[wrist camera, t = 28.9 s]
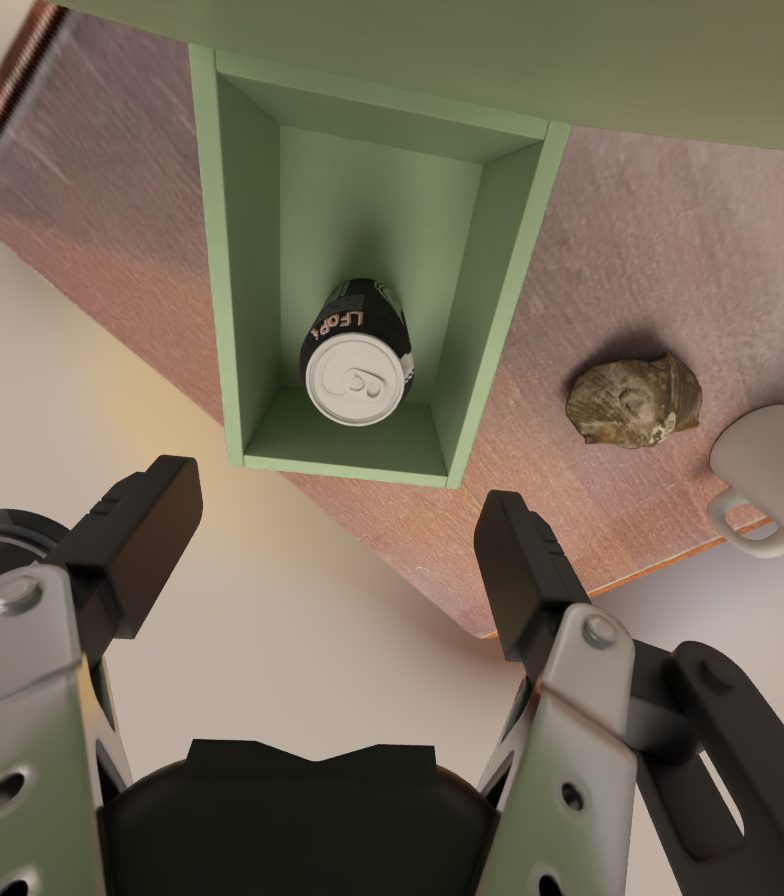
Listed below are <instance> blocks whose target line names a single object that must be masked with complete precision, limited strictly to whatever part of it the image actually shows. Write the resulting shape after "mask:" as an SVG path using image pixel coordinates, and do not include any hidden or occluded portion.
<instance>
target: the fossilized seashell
mask: <svg viewBox="0 0 784 896" xmlns="http://www.w3.org/2000/svg"><path fill="white" fill-rule="evenodd" d="M701 404H702V389H701V386H700V385H699V383H698V380H697V378H696V376H695V374H694V373H693V372H692V371H691V370H690V369H689V368H688V367H687V366H686V365H685V364H684V363H683V362H682V361H681V360H680V359H679V358H677V357H676V356H674V355H673V354H672V353H669V352H668V351H665V352H663V353H661V354H660V355H659V356H657V357H656V358H654V359H653V360H652V361H644V360H639V359H624V360H618V361H613V362H609V363H606V364H601V365H597V366H593V367H591V368H590V369H589V370H587V371H586V372H584V373H583V374H582V375H581V376H580V377H578V379H577V380H576V381H575V382H574V383H573V387H572V390H571V391H570V393H569V395H568V397H567V400H566V409H565V410H566V415H567V417H568V418H569V419H570V421H571V422H572V423H573V425H574V426H575V428H576V429H577V430H578V432H579V433H580V434H581V435H582V436H583V437H584V438H585V444H612V445H616V446H618V447H622V448H628V449H637V448H640V447H653V446H655V445H657V444H658V443H660V442H662V441H664V440H665V439H666V438H667V436H668V435H669V434H671V433H675V432H680V431H684V430H689V429H693V428H697V427H698V426H699V421H698V417H699V410H700V407H701Z"/></svg>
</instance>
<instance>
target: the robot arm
mask: <svg viewBox="0 0 784 896" xmlns="http://www.w3.org/2000/svg"><path fill="white" fill-rule="evenodd" d="M202 511H203V500H202V493H201V486H200V480H199V472H198V465H197V462H196V460H195V459H194V458H191V457H182V456H171V455H161V456H159V457H158V458H157V459H156V460H155V461H154V463H153V464H152V465H151V466H150V467H149V468H148V470H146V472H135V473H133V474H132V475H130V476H128V477H126V478H125V479H123V480H121V481H119V482H117V483H116V484H115V485H114V486H113V487H112V488H111V489H110V490H109V491H108V492H107V493H106V494H105V495H104V496H103V497H102V500H101V501H99V502H98V503H97V504H96V505H95V506H94V507H93V508H92V509H91V510H90V513H89V514H86V515H85V516H84V517H83V518H82V519H81V520H80V521H79V522H78V523H77V525H76V526H75V527H74V528H73V529H72V530H71V531H70V532H69V533H68V534H67V535H66V536H65V537H64V538H63V539H62V540H61V541H60V542H59V543H58V544H57V545H56V546H55V547H54V549H53V550H52V551H50V550H48V549H47V548H45V547H44V546H42V545H40V544H38V543H36V542H34V541H32V540H29V539H27V538H24V537H21V536H17V535H13V534H7V533H0V896H625V886H626V876H627V865H628V855H629V845H630V835H631V824H632V814H633V804H634V794H635V784H636V782H637V785H638V787H639V790H640V792H641V795H642V797H643V799H644V802H645V804H646V807H647V809H648V812H649V814H650V817H651V819H652V821H653V824H654V827H655V829H656V831H657V834H658V836H659V839H660V841H661V844H662V846H663V849H664V851H665V853H666V856H667V858H668V861H669V863H670V866H671V868H672V871H673V873H674V876H675V878H676V881H677V883H678V885H679V888H680V890H681V893H682V895H683V896H784V724H783V723H782V722H781V720H780V719H779V718H778V716H777V715H776V714H775V712H774V711H773V710H772V708H771V707H770V706H769V704H768V703H767V702H766V700H765V699H764V697H763V696H762V695H761V694H760V692H759V691H758V689H757V688H756V687H755V685H754V684H753V683H752V681H751V680H750V679H749V677H748V676H747V675H746V674H745V673H744V672H743V670H742V669H741V668H740V667H739V666H738V665H737V664H735V663H734V662H733V661H732V660H731V659H730V658H728V657H727V656H726V655H724V654H723V653H721V652H720V651H718V650H716V649H714V648H713V647H711V646H708V645H706V644H703V643H700V642H696V641H684V642H682V643H681V644H679V645H678V647H677V648H676V649H675V650H674V651H673V652H672V653H671V652H668V651H666V650H663V649H660V648H657V647H654V646H652V645H649V644H646V643H643V642H641V641H638V640H635V639H633V638H632V637H631V636H630V634H629V632H628V631H627V630H626V628H625V627H624V626H623V625H622V623H621V622H620V621H618V620H617V619H616V618H615V617H614V616H612V615H611V614H610V613H609V612H607V611H605V610H604V609H602V608H600V607H598V606H595V605H592V603H591V601H590V600H589V597H588V596H587V594H586V592H585V590H584V588H583V586H582V585H581V583H580V581H579V579H578V577H577V575H576V574H575V572H574V570H573V568H572V566H571V564H570V562H569V561H568V559H567V557H566V556H564V551H563V550H562V548H561V546H560V544H559V543H557V541H558V540H557V539H556V537H555V535H554V533H553V531H552V529H551V528H550V526H549V525H548V524H547V523H546V522H545V521H544V520H543V519H542V518H541V517H540V516H539V515H538V514H537V513H536V512H533V511H529V510H528V508H527V506H526V504H525V502H524V500H523V498H522V496H521V495H520V493H518V492H511V491H502V490H491V491H490V492H489V493H488V495H487V498H486V500H485V503H484V506H483V509H482V511H481V514H480V517H479V520H478V522H477V525H476V528H475V532H474V550H475V554H476V557H477V561H478V564H479V568H480V571H481V575H482V578H483V582H484V585H485V589H486V592H487V596H488V599H489V603H490V607H491V610H492V614H493V617H494V621H495V624H496V628H497V631H498V635H499V638H500V641H501V645H502V649H503V652H504V656H505V659H506V661H514V662H523V664H524V667H525V670H526V674H525V676H524V678H523V679H522V682H521V684H520V687H519V690H518V692H517V694H516V697H515V700H514V702H513V705H512V707H511V710H510V712H509V715H508V717H507V720H506V722H505V725H504V727H503V730H502V732H501V735H500V737H499V740H498V742H497V745H496V748H495V750H494V752H493V754H492V756H491V758H490V760H489V762H488V764H487V766H486V768H485V770H484V772H483V774H482V776H481V778H480V780H479V783H478V785H477V787H476V789H475V788H474V787H473V786H472V785H471V784H470V783H468V782H467V781H465V780H464V779H462V778H461V777H460V776H458V775H457V774H455V773H453V772H451V771H449V770H448V769H446V768H444V767H441V766H439V765H436V758H435V750H434V749H435V748H434V746H424V745H421V746H420V745H388V744H387V745H386V744H377V745H374V746H370V747H367V748H364V749H360V750H357V751H353V752H350V753H347V754H343V755H340V756H336V757H333V758H329V759H326V760H323V761H310V760H307V759H304V758H301V757H299V756H296V755H293V754H290V753H288V752H285V751H282V750H279V749H277V748H274V747H271V746H268V745H265V744H263V743H260V742H257V741H244V740H208V739H207V740H206V739H193V741H192V744H191V747H190V750H189V753H188V755H187V758H186V759H185V760H181V761H177V762H175V763H172V764H170V765H167V766H165V767H162V768H160V769H158V770H156V771H155V772H153V773H151V774H149V775H147V776H145V777H143V778H141V779H140V780H138V781H137V782H135V783H133V779H132V775H131V771H130V767H129V764H128V761H127V757H126V754H125V751H124V748H123V745H122V741H121V737H120V732H119V727H118V722H117V717H116V712H115V707H114V702H113V696H112V691H111V686H110V681H109V676H108V671H107V666H106V661H105V657H104V655H103V654H104V652H105V651H106V649H107V647H108V646H109V644H110V642H111V641H112V639H113V638H118V639H134V638H135V637H136V635H137V633H138V631H139V629H140V628H141V626H142V624H143V622H144V621H145V619H146V617H147V615H148V614H149V612H150V610H151V608H152V607H153V605H154V603H155V601H156V600H157V598H158V596H159V594H160V592H161V591H162V589H163V587H164V585H165V584H166V582H167V580H168V578H169V577H170V575H171V573H172V571H173V570H174V567H175V566H176V564H177V563H178V561H179V559H180V557H181V555H182V554H183V552H184V550H185V548H186V547H187V545H188V543H189V541H190V540H191V538H192V536H193V534H194V532H195V531H196V529H197V527H198V525H199V523H200V520H201V517H202ZM704 750H705V751H706V752H707V754H708V756H709V758H710V759H711V761H712V763H713V765H714V766H715V768H716V770H717V772H718V774H719V776H720V777H721V779H722V781H723V783H724V784H725V786H726V788H727V790H728V792H729V793H730V795H731V797H732V799H733V801H734V802H735V804H736V806H737V808H738V810H739V812H740V815H741V817H742V820H743V824H744V836H743V835H742V833H741V831H740V829H739V827H738V825H737V824H736V822H735V820H734V818H733V816H732V814H731V813H730V811H729V809H728V807H727V805H726V804H725V802H724V800H723V798H722V796H721V794H720V792H719V791H718V789H717V787H716V785H715V783H714V781H713V780H712V778H711V776H710V774H709V772H708V770H707V768H706V767H705V765H704V763H703V761H702V759H701V757H700V756H699V754H700V753H701V752H703V751H704Z"/></svg>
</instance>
